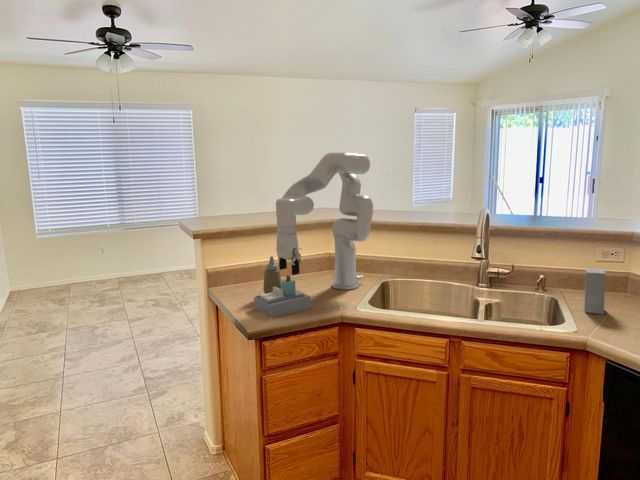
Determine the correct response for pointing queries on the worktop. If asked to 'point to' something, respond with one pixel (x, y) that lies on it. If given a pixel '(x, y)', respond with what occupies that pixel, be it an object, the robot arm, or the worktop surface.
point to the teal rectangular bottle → (288, 287)
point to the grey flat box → (283, 304)
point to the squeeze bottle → (271, 277)
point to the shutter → (273, 294)
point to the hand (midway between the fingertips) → (289, 271)
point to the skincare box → (595, 291)
